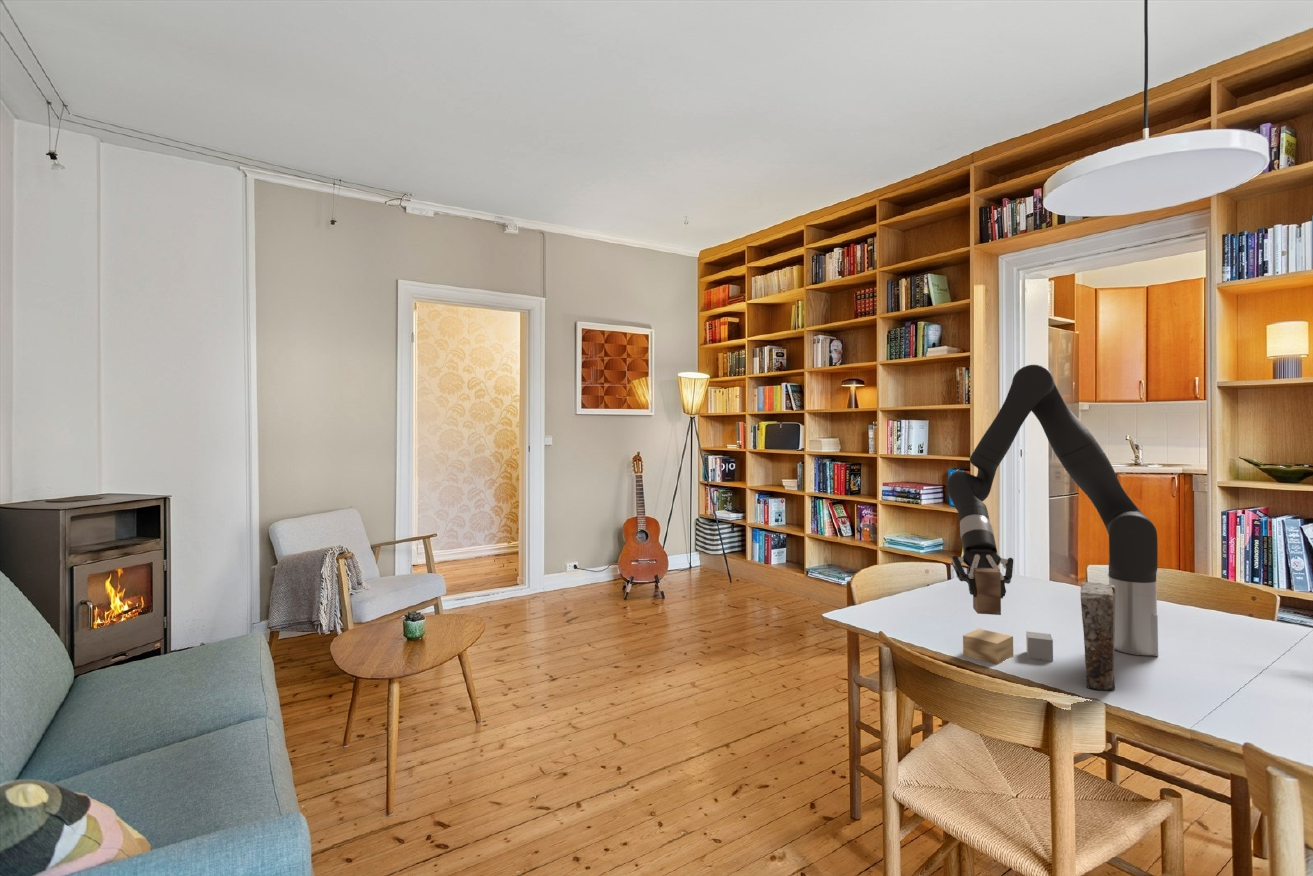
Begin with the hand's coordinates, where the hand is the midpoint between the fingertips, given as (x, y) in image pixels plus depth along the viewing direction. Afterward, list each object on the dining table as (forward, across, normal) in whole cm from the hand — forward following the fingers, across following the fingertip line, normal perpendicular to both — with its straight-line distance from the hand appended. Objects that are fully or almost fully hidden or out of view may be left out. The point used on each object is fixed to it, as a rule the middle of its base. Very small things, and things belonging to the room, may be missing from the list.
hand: (988, 595), depth 149 cm
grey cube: (+8, +12, +13) cm, 19 cm away
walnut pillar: (+2, 0, +4) cm, 5 cm away
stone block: (+17, +19, +4) cm, 26 cm away
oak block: (+9, 0, +12) cm, 15 cm away
